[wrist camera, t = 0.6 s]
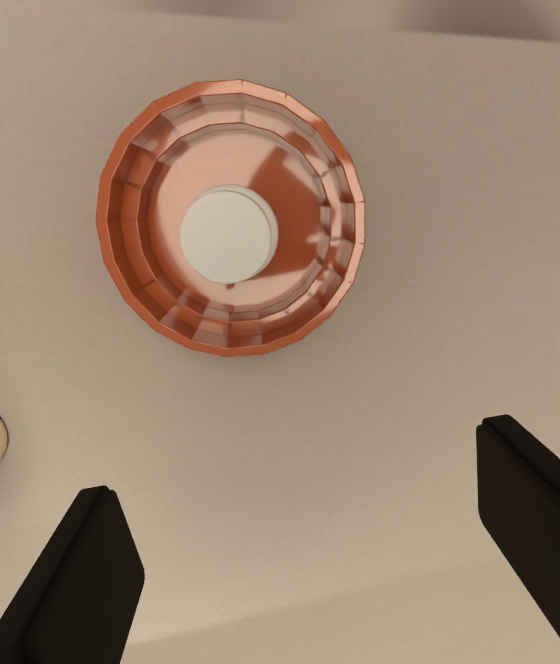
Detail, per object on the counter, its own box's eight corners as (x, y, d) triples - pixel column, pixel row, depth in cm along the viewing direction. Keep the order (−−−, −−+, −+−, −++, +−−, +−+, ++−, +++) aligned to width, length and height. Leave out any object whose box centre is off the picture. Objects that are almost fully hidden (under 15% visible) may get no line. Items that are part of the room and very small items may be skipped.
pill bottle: (286, 247, 26) (298, 268, 18) (219, 276, 27) (202, 309, 19) (256, 174, 25) (254, 162, 17) (186, 206, 25) (151, 209, 17)
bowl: (142, 70, 23) (115, 41, 19) (377, 139, 25) (402, 127, 21) (110, 306, 27) (82, 326, 23) (314, 352, 29) (323, 378, 25)
